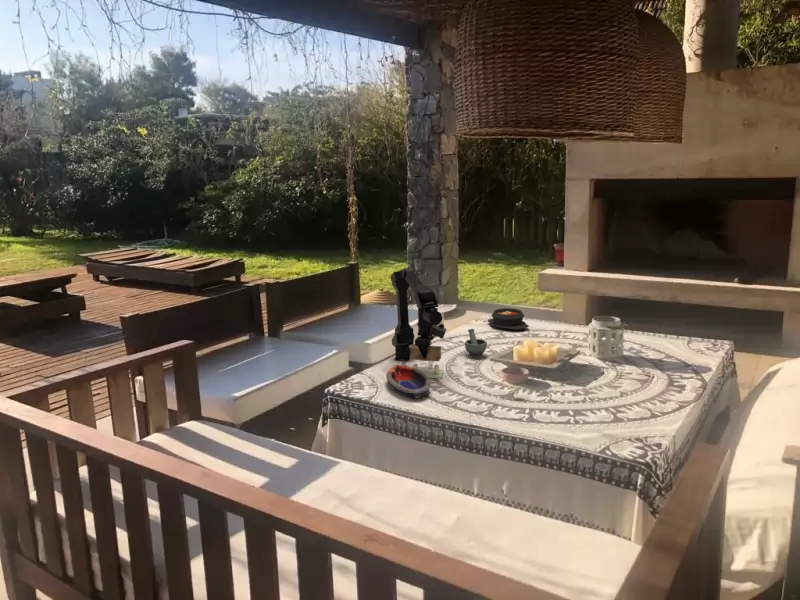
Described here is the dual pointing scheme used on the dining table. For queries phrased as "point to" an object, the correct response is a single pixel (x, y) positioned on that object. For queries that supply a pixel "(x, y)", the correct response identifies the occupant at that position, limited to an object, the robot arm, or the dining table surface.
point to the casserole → (508, 319)
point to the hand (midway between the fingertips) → (425, 356)
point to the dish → (408, 381)
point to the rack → (431, 371)
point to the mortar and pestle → (475, 346)
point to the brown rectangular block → (432, 353)
